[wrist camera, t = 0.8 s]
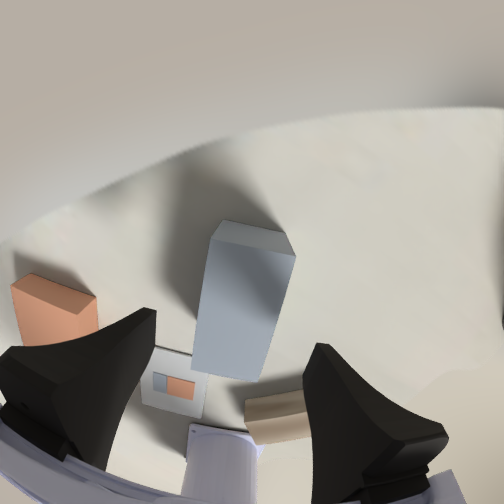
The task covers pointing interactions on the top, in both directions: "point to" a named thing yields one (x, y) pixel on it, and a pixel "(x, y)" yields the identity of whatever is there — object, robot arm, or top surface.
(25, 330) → the base brick
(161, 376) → the page
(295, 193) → the top surface
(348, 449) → the robot arm
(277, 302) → the top brick
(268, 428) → the brick
